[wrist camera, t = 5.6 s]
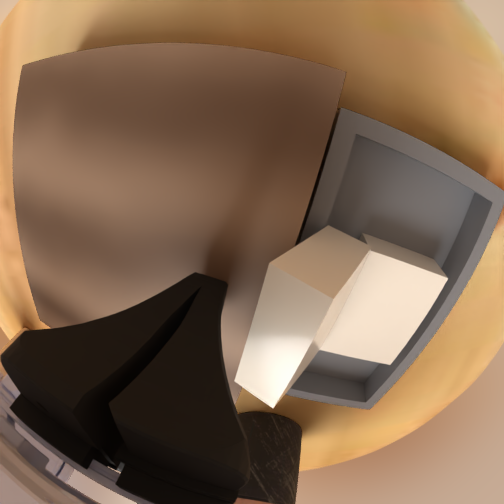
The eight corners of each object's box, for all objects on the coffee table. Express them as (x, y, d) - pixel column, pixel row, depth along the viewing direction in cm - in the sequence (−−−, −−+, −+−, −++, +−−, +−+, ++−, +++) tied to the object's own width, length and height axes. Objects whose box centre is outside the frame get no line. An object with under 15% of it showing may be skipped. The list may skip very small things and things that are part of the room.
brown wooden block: (245, 367, 18) (232, 412, 15) (68, 293, 20) (40, 320, 16) (334, 89, 10) (346, 72, 7) (69, 66, 11) (22, 65, 8)
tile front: (288, 328, 14) (320, 348, 13) (234, 381, 10) (273, 408, 10) (328, 225, 11) (371, 246, 10) (269, 263, 8) (333, 299, 7)
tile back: (319, 349, 13) (319, 325, 15) (390, 364, 13) (384, 341, 15) (370, 250, 11) (362, 232, 12) (448, 278, 10) (433, 259, 12)
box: (367, 386, 17) (369, 409, 15) (252, 360, 18) (245, 384, 16) (484, 183, 10) (507, 193, 8) (335, 110, 11) (341, 107, 9)
